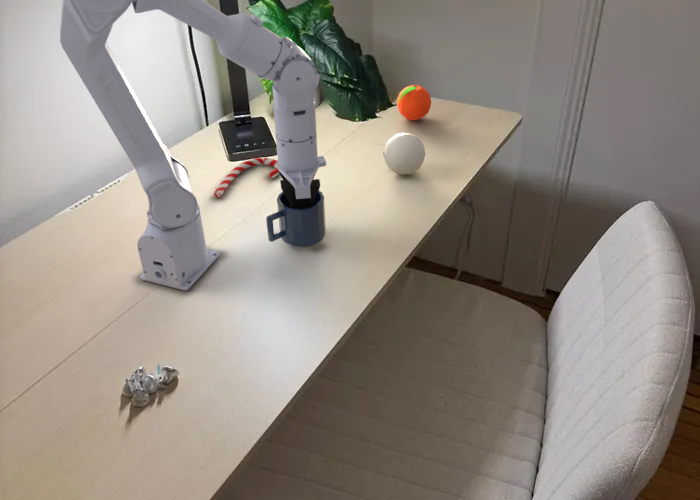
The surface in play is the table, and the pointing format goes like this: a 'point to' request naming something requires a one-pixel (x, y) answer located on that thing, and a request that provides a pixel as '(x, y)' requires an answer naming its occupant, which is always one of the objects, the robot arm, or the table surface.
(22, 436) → the table surface
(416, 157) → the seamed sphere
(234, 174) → the candy cane
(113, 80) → the robot arm
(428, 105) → the clementine
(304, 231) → the mug
